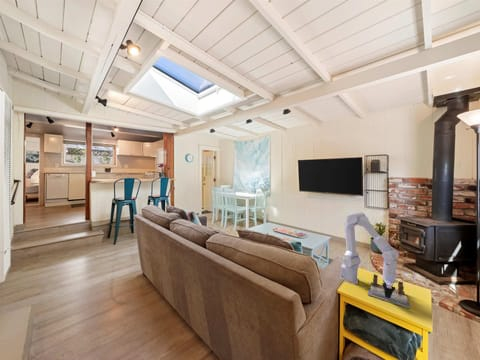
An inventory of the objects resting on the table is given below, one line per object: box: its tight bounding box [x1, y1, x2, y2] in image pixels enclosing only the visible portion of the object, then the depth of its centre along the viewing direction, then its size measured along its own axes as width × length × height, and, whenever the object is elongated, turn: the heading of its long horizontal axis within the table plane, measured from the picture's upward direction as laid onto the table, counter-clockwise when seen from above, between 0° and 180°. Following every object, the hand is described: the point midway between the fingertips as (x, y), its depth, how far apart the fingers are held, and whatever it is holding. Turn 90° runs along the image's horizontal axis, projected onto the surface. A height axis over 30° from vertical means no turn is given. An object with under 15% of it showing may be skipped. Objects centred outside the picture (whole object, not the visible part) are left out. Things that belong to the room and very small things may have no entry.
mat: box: [367, 287, 411, 310], centre depth 110 cm, size 18×8×1 cm, turn 54°
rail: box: [370, 285, 408, 305], centre depth 110 cm, size 16×3×3 cm, turn 54°
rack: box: [370, 274, 406, 296], centre depth 117 cm, size 16×6×6 cm, turn 54°
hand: (387, 294), depth 110 cm, fingers open, 5 cm apart
